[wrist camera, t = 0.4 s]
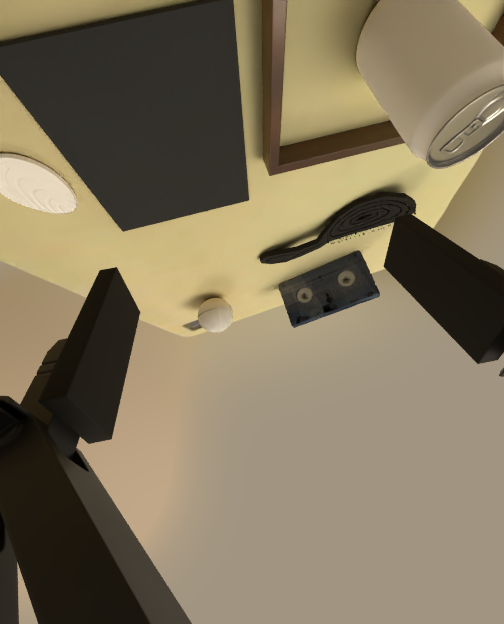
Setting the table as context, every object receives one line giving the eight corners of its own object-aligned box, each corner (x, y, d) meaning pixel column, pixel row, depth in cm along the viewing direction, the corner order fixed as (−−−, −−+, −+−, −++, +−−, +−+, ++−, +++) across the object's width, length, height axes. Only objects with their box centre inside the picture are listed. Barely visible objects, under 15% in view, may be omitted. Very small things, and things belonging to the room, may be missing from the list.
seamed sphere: (219, 287, 55) (228, 321, 53) (233, 298, 62) (241, 329, 59) (176, 304, 57) (182, 338, 55) (194, 314, 64) (200, 344, 61)
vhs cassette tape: (280, 288, 63) (294, 328, 60) (276, 284, 61) (290, 325, 57) (360, 255, 59) (380, 297, 55) (360, 249, 56) (381, 292, 53)
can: (455, -4, 21) (554, 95, 17) (387, 87, 26) (450, 180, 22) (403, -52, 18) (509, 55, 14) (337, 62, 23) (401, 165, 19)
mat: (-19, 45, 17) (-20, 50, 17) (231, -7, 18) (233, -3, 18) (122, 228, 34) (122, 231, 34) (248, 197, 35) (249, 200, 35)
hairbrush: (255, 262, 44) (424, 196, 37) (250, 243, 45) (413, 175, 39) (270, 280, 52) (413, 227, 45) (265, 263, 53) (404, 209, 46)
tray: (259, -164, 13) (274, -147, 12) (668, -240, 14) (708, -229, 13) (263, 159, 30) (269, 176, 29) (451, 113, 31) (462, 128, 30)
